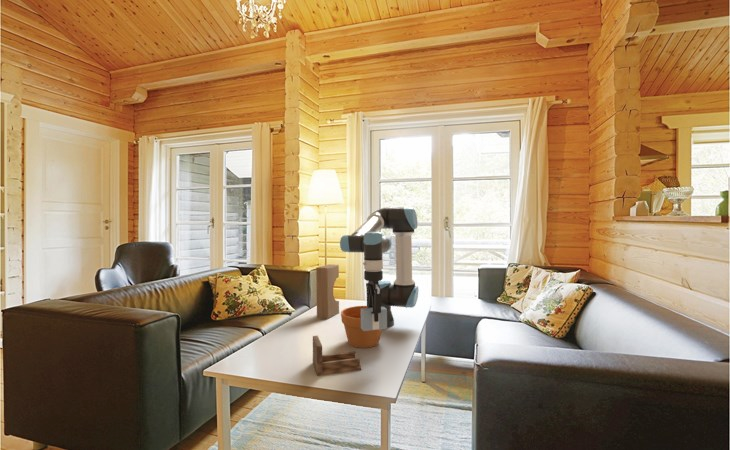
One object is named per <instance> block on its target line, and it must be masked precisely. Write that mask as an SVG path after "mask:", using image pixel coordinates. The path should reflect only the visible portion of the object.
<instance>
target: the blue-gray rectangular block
mask: <svg viewBox="0 0 730 450" xmlns="http://www.w3.org/2000/svg"><path fill="white" fill-rule="evenodd" d="M371 312H373V308H362V309H361V329H362V330H363V331H370V330H373V329H372V314H371ZM379 329H382V330H386V329H388V327H387V309H386V308H385V307H381V313H379ZM379 329H375V330H379Z"/></svg>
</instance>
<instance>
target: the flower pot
mask: <svg viewBox="0 0 730 450" xmlns="http://www.w3.org/2000/svg"><path fill="white" fill-rule="evenodd" d="M362 308H368V307H367V305H357V306H356V305H355V306H349V307H347V308H344V309H343V310H341V312H340V316H341V323H342V324H343V326H344V330H345V335H346V338H347V342H348V344H349V346H351V347H355V348H360V349H361V348H362V349H365V348H371V347H376V346H377V345H378V344H379V343H380V340H381V335H382V330H383V329H379V330H370V331H363V330H362V329H361V309H362Z"/></svg>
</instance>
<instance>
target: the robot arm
mask: <svg viewBox="0 0 730 450" xmlns="http://www.w3.org/2000/svg"><path fill="white" fill-rule="evenodd" d="M384 229H388V230H391V229H392V234H393V235H395V237H394V238H395V240H394V241H395V278H396V279H395V280H394V281H393V284H392V282H391V281H390V280H383V279H384V277H383V276H384V275H383V274H384V272H383V268H384V267H383V265H384V263H383V262H384V261H383V254H385V253H387V252H388V251H389V250H390V249H391V247H392V241H391V238H390V237H389V236H388V235H384V234H383V233H382V232H380V231H381V230H384ZM417 229H418V215H417V212H416V210H415V209H414V207H411V206H392V207H390V206H388V207H387V206H386V207H382V208H380V209H378V210H375V211H373V212H372V213H371V214H370V215H368V217H367V218H366V220H365V222H364V223H362V224H361V225H360V226H359V227H358V228H357V229H356V230H355V231H354V232H352V233H351V234H347V235H345V234H344V235H342V236H341V237H340V240H339V246H340V248H339V249H340V250H341V251H342V252H343V253H344V252H345V253H363V262H362V265H363V268H364V269H363V270H364V271H363V278H364V280H365V281H367V282H366V283H365V287H366V306H367V307H368V308H373V312H371V314H372V329H373V330H375V329H379V313H381V307H385V308H386V309H387V328H389V327H393V326H394V325H395V318H394V315H393V312H392V309H391V307H399V308H406V309H407V308H412V309H413V308H414V307H415V306H416V305H417V301H418V297H419V286H418V285H416V281H414V279H413V256H412V255H413V253H412V252H413V251H412V250H413V249H412V245H413V244H412V235H413V234H414V233H415V230H417ZM382 280H383V281H382Z"/></svg>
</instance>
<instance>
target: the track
mask: <svg viewBox="0 0 730 450" xmlns="http://www.w3.org/2000/svg"><path fill="white" fill-rule="evenodd" d="M360 360H361V358H360V357H356V351H355V350H353V351H347V352H339V353H330V354H323V344H322V342H321V340H320V338H319V336H318V335H312V364H313V367H314V371H315V373H316V376H317V377H319V376H326V375H327V376H328V375H333V374H334V375H335V374H340V373H349V372H355V371H356V372H357V371H361V370H362V366H361V362H360Z"/></svg>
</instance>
